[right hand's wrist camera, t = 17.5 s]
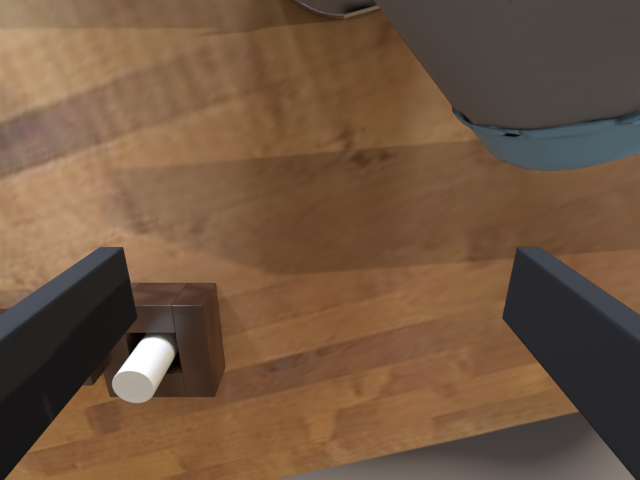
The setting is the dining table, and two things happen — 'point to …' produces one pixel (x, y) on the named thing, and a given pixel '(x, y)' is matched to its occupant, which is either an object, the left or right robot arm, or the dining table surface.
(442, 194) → the dining table surface
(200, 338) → the peg stand
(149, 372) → the peg
